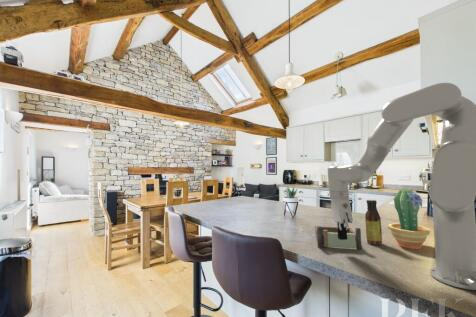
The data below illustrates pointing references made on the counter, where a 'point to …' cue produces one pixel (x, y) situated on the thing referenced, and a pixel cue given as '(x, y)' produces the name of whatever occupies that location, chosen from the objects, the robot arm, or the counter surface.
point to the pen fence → (320, 232)
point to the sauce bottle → (373, 224)
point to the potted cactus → (408, 220)
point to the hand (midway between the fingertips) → (342, 238)
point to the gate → (338, 240)
